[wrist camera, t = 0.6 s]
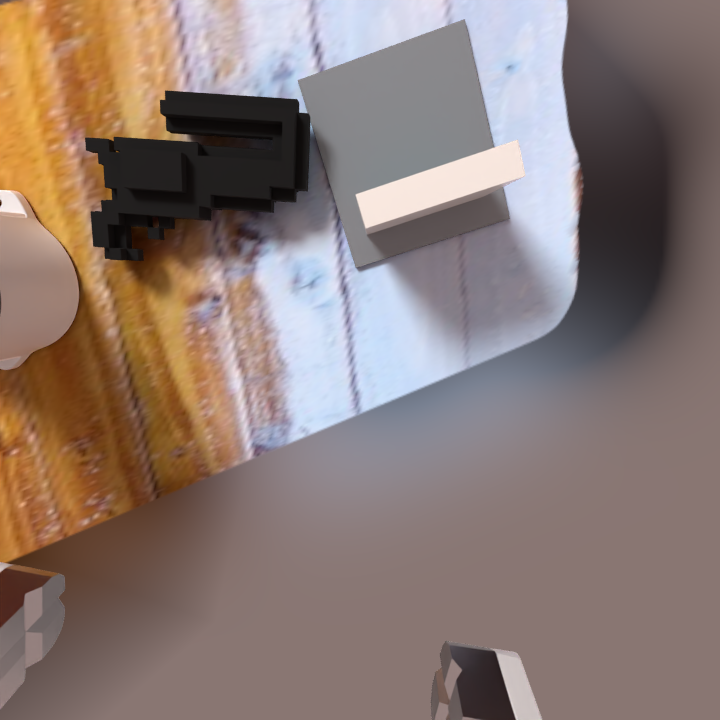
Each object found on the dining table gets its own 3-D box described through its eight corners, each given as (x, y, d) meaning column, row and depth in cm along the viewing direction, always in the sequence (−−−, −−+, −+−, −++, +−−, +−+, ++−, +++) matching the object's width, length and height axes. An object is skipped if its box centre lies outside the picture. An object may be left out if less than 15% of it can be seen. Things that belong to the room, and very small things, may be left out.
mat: (508, 218, 44) (509, 218, 44) (356, 267, 45) (355, 267, 45) (463, 21, 40) (464, 19, 40) (298, 82, 42) (297, 80, 41)
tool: (300, 272, 40) (305, 91, 37) (80, 257, 41) (65, 75, 37) (307, 270, 46) (313, 111, 42) (113, 257, 46) (102, 97, 42)
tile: (483, 196, 43) (525, 175, 32) (366, 234, 44) (365, 228, 33) (477, 170, 43) (517, 139, 31) (359, 209, 44) (355, 193, 32)
